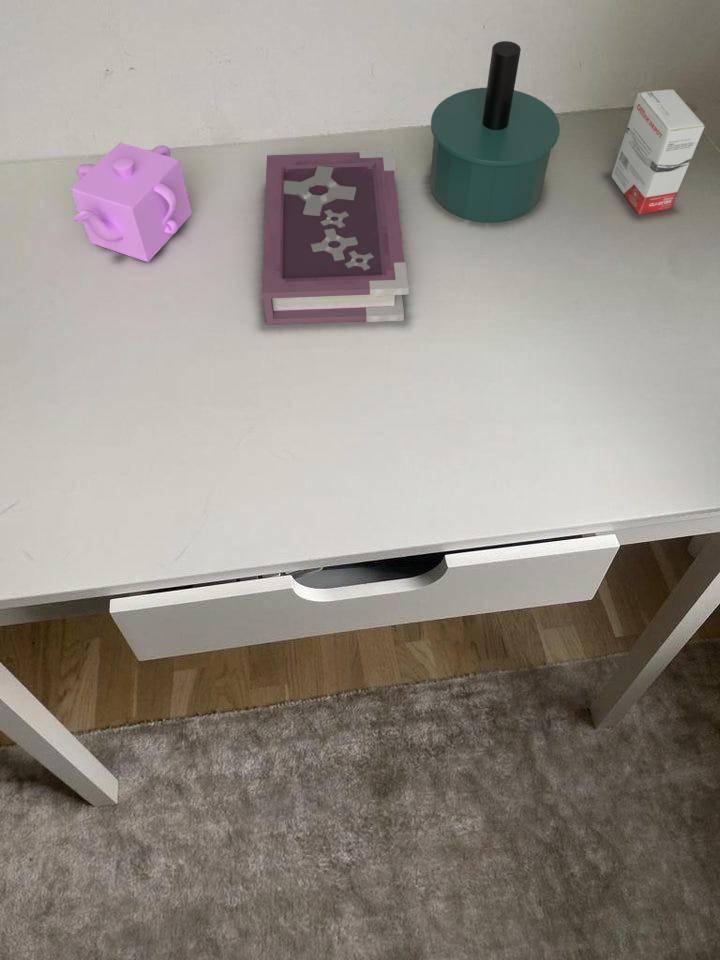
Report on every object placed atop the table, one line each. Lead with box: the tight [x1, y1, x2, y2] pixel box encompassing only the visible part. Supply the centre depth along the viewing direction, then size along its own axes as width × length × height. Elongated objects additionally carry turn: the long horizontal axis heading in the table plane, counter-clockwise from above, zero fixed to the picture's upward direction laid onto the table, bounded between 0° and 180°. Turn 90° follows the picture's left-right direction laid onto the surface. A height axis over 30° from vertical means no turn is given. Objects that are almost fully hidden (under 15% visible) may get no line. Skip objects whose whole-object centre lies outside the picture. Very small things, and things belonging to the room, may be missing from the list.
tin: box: [429, 137, 552, 224], centre depth 98 cm, size 15×15×8 cm
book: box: [261, 149, 410, 326], centre depth 93 cm, size 25×16×5 cm, turn 3°
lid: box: [430, 40, 561, 166], centre depth 91 cm, size 16×16×10 cm
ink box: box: [611, 88, 706, 215], centre depth 96 cm, size 8×5×12 cm, turn 14°
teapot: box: [70, 141, 193, 263], centre depth 92 cm, size 18×14×10 cm
